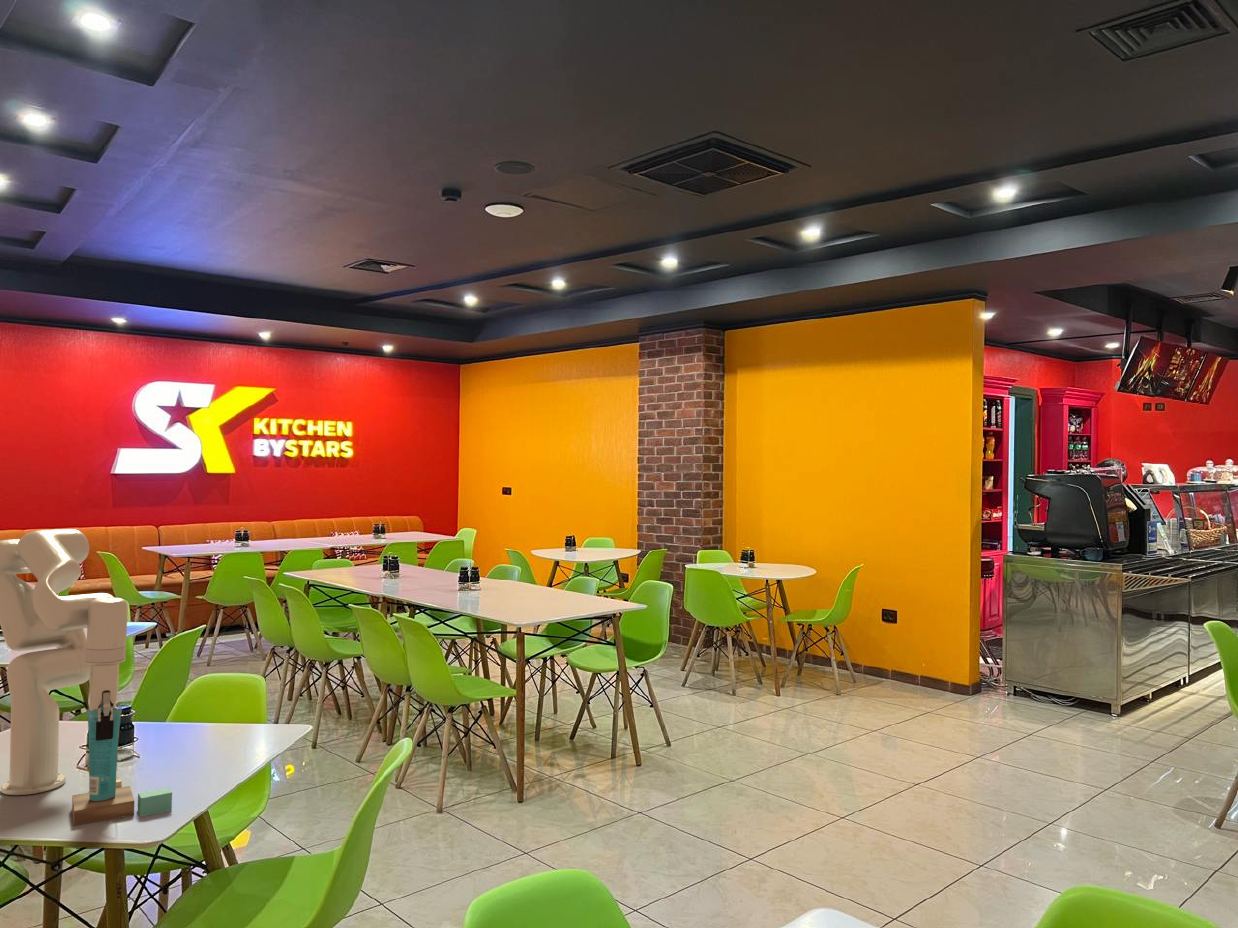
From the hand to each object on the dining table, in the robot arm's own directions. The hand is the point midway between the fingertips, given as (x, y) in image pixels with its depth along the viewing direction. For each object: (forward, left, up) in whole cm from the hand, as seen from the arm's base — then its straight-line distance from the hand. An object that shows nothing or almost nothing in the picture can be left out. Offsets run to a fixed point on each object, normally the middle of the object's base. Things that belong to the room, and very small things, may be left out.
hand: (102, 733), depth 189 cm
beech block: (-9, +2, -17) cm, 20 cm away
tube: (0, 0, -14) cm, 14 cm away
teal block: (+6, +10, -17) cm, 21 cm away
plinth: (+1, 0, -17) cm, 17 cm away
